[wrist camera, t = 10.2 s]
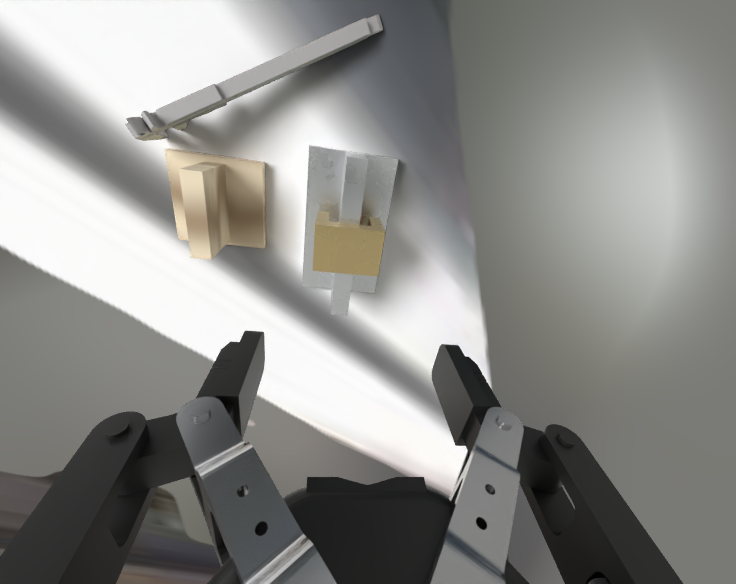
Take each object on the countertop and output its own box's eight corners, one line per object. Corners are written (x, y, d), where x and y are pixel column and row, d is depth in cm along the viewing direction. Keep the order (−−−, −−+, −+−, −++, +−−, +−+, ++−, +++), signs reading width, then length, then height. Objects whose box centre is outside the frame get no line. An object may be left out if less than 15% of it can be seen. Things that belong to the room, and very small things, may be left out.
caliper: (166, 140, 26) (120, 144, 21) (157, 126, 26) (108, 127, 20) (382, 31, 24) (395, 3, 19) (378, 14, 24) (389, -19, 18)
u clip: (318, 210, 27) (315, 224, 24) (379, 217, 28) (385, 231, 24) (315, 252, 29) (312, 270, 25) (373, 257, 30) (378, 276, 26)
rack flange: (310, 144, 27) (303, 149, 22) (396, 158, 28) (409, 166, 23) (303, 282, 34) (296, 311, 29) (373, 289, 35) (379, 318, 30)
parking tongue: (170, 148, 26) (128, 154, 21) (264, 162, 28) (247, 170, 22) (183, 236, 30) (150, 259, 25) (265, 244, 31) (251, 268, 26)
